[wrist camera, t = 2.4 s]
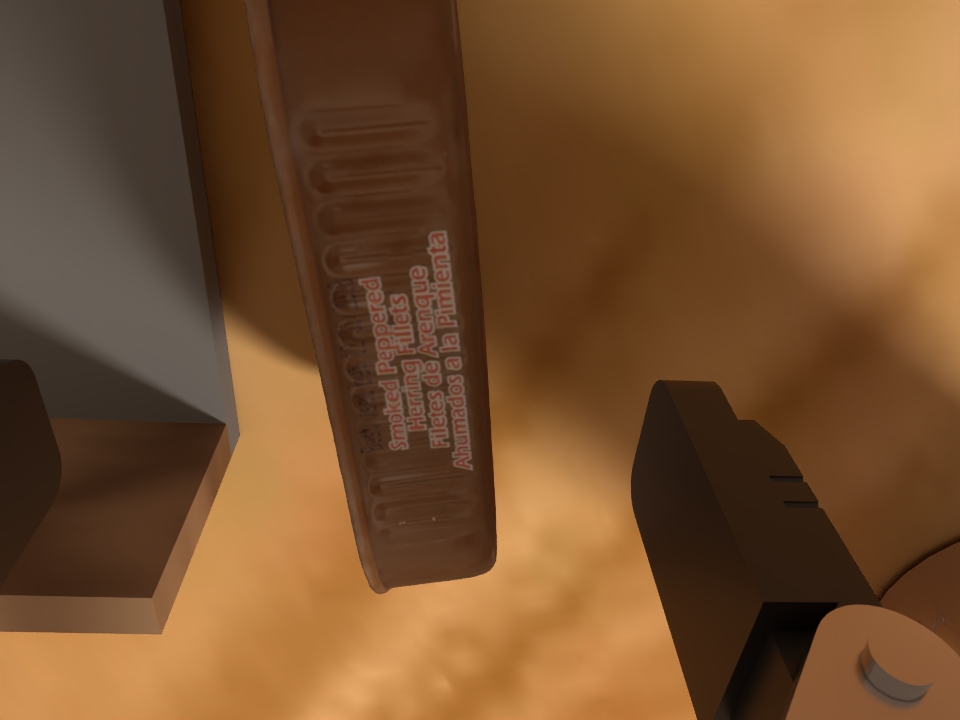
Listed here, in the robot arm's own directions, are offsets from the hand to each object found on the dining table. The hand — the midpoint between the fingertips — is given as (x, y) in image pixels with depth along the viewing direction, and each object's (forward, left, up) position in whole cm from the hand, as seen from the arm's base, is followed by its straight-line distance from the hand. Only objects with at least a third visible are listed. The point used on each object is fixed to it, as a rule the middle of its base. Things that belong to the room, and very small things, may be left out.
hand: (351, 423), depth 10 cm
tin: (0, 0, -10) cm, 10 cm away
